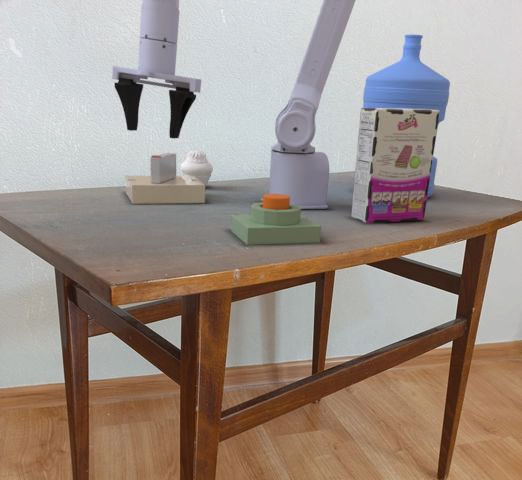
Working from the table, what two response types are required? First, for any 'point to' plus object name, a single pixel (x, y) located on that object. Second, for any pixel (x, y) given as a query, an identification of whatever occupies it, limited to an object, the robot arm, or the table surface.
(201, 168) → the muffin
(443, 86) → the water jug
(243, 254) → the table surface
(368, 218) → the candy bar box
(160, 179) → the gray rectangular brick
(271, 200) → the button
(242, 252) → the table surface
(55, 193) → the table surface
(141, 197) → the base
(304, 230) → the switch
